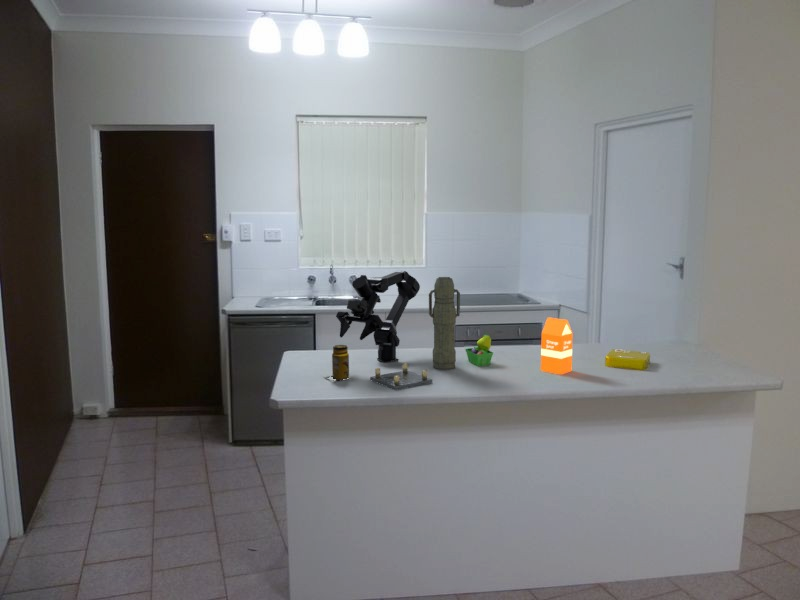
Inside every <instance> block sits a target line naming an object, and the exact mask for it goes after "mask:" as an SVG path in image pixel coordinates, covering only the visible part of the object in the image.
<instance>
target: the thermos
mask: <svg viewBox="0 0 800 600" xmlns="http://www.w3.org/2000/svg"><path fill="white" fill-rule="evenodd" d="M433 288H434V289H432V290H430V292H429V293H428V315H429V316H430V317H431V318H432V324H433V348H432V364H433V365H432V368H433V370H438V371H451V370H455V369H456V360H457V358H456V357H457V356H456V355H457V353H456V352H457V351H456V349H455V326H456V325H455V324H456V323H457V322H456V320H457V319H456V318H457V317H460V314H461V293H460V291H459V290H458V289H456V288H455V283H454V280H453V278H451V277H450V276H438V277H437V278H436V279H435V282H434V287H433ZM455 293H456V306H455V300H454V299H455ZM433 295H434V301H433ZM433 303H434V304H433Z"/></svg>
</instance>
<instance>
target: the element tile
mask: <svg viewBox="0 0 800 600" xmlns="http://www.w3.org/2000/svg"><path fill="white" fill-rule="evenodd" d="M604 357H605V359H604V360H605V361H604V363H605V364H604V366H605V367H607V368H616V369H627V370H636V371H645V370H646V369H647V368H648V366H650V362H651V361H650V360H651V354H650V352H646V351H638V350H637V351H635V350H627V349H626V350H624V349H622V348H619V349H618V348H616V349H611V350H609V352H608V353H607V354H606V355H605V356H604Z"/></svg>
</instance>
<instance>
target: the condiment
mask: <svg viewBox="0 0 800 600" xmlns="http://www.w3.org/2000/svg"><path fill="white" fill-rule="evenodd" d="M348 350H349V349H348V346H347V345H344V344H338V345H337V344H336V345H334V346H333V347H332V352H333V353H332V354H331V355H332V356H331V363H332V371H331V372H332V375H331V377H333V379H336V380H340V381H339V382H342V381H344V380H343V379H347V378H349V377H350V358H349V357H350V355H349V354H350V353H349V351H348ZM329 377H330V376H324V377H323V379H326V378H329ZM341 380H342V381H341ZM329 382H332V383H335V382H336V381H334V380H332V381H331V380H329Z"/></svg>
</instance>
